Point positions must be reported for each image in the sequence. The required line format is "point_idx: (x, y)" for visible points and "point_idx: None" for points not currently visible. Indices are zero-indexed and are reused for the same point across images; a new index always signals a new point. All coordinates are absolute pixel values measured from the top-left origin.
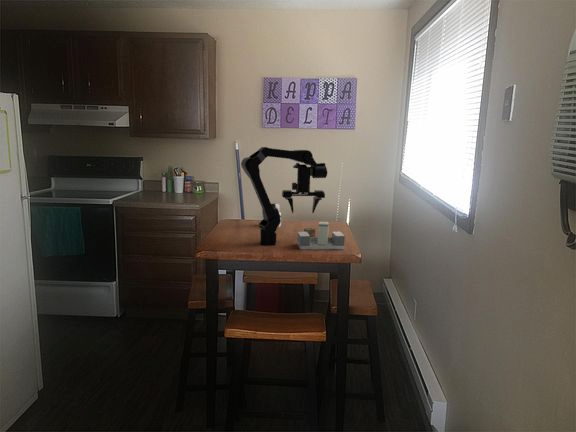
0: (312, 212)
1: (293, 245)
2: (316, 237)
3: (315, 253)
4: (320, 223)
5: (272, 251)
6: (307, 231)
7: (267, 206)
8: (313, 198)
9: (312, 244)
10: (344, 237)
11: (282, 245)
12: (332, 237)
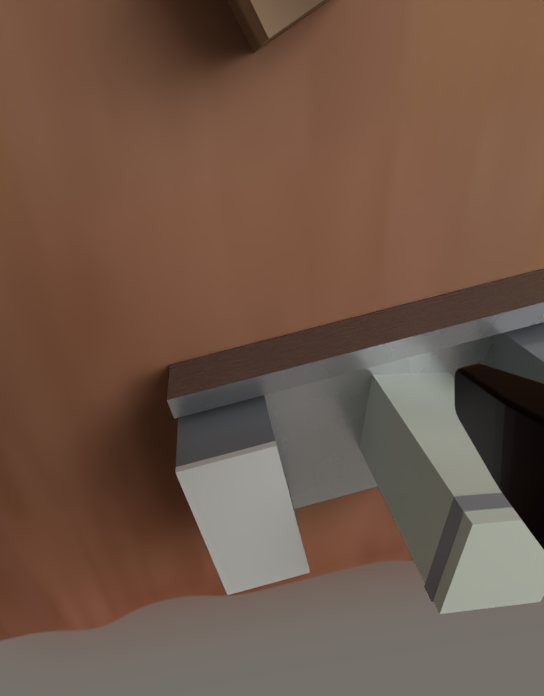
0: (461, 408)
1: (150, 419)
2: (364, 362)
3: (326, 552)
4: (461, 605)
5: (42, 588)
6: (258, 28)
7: None
8: None
9: (315, 468)
10: None
11: (55, 441)
12: (517, 362)
